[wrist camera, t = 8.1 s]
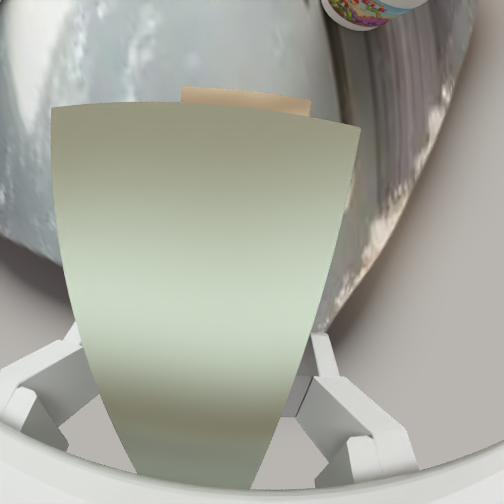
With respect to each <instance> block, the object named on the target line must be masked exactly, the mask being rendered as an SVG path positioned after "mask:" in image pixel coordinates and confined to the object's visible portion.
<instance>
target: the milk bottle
mask: <svg viewBox="0 0 504 504" xmlns="http://www.w3.org/2000/svg"><path fill="white" fill-rule="evenodd" d="M426 1H427V0H321V2H322V5H323V7H324V9H325V11H326V12H327V14H328V15H329V16H330V17H331V18H332V19H333V20H334V21H335V22H337V23H338V24H340V25H342V26H343V27H346V28H348V29H351V30H356V31H368V30H371V29H374V28H376V27H378V26H380V25H382V24H384V23H386V22H388V21H390V20H392V19H394V18H396V17H398V16H400V15H402V14H404V13H406V12H408V11H410V10H412V9H414V8H416V7H418V6H420V5H422V4H423V3H425V2H426Z"/></svg>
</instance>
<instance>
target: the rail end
mask: <svg viewBox="0 0 504 504" xmlns="http://www.w3.org/2000/svg"><path fill="white" fill-rule="evenodd" d="M360 131H361V128H360V127H356V126H351V125H347V124H343V123H338V122H333V121H329V120H324V119H319V118H313V117H308V116H302V115H297V114H291V113H284V112H278V111H271V110H263V109H255V108H247V107H237V106H227V105H215V104H200V103H180V102H116V103H96V104H83V105H71V106H62V107H53V108H52V110H51V168H52V185H53V198H54V208H55V217H56V225H57V233H58V239H59V246H60V252H61V258H62V263H63V269H64V274H65V279H66V283H67V287H68V292H69V297H70V301H71V305H72V309H73V313H74V317H75V320H76V324H77V328H78V331H79V334H80V338H81V341H82V344H83V348H84V351H85V354H86V357H87V360H88V363H89V366H90V369H91V372H92V374H93V377H94V380H95V382H96V385H97V388H98V390H99V393H100V395H101V398H102V400H103V403H104V405H105V408H106V410H107V412H108V415H109V417H110V419H111V421H112V424H113V426H114V428H115V430H116V432H117V434H118V437H119V439H120V441H121V443H122V445H123V447H124V449H125V451H126V453H127V454H128V457H129V459H130V461H131V462H132V464H133V466H134V468H135V470H136V472H137V473H138V474H139V475H143V476H148V477H153V478H158V479H163V480H168V481H174V482H180V483H186V484H194V485H201V486H210V487H221V488H234V489H250V488H251V486H252V483H253V481H254V479H255V476H256V474H257V472H258V470H259V467H260V465H261V463H262V461H263V458H264V456H265V454H266V451H267V449H268V446H269V444H270V442H271V439H272V437H273V434H274V432H275V429H276V427H277V424H278V422H279V419H280V417H281V414H282V411H283V409H284V406H285V403H286V401H287V398H288V395H289V393H290V390H291V387H292V384H293V382H294V379H295V376H296V373H297V370H298V368H299V365H300V362H301V359H302V356H303V353H304V350H305V347H306V344H307V341H308V338H309V335H310V332H311V328H312V325H313V322H314V319H315V316H316V312H317V309H318V306H319V302H320V299H321V296H322V292H323V289H324V285H325V282H326V278H327V275H328V271H329V268H330V264H331V260H332V257H333V253H334V249H335V245H336V241H337V237H338V233H339V229H340V225H341V221H342V217H343V213H344V209H345V204H346V200H347V196H348V191H349V187H350V182H351V177H352V173H353V168H354V163H355V158H356V153H357V148H358V142H359V137H360Z"/></svg>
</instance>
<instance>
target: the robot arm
mask: <svg viewBox="0 0 504 504" xmlns="http://www.w3.org/2000/svg"><path fill="white" fill-rule="evenodd" d="M1 1H2V0H0V2H1ZM98 394H99V390H98V388H97V385H96V382H95V380H94V377H93V374H92V372H91V369H90V366H89V363H88V360H87V357H86V354H85V351H84V348H83V344H82V341H81V338H80V334H79V331H78V328H77V324H76V321H75V322H74V324H73V325H72V327H71V328H70V330H69V331H68V333H67V335H66V336H65V338H64V339H63V341H62V340H56V341H54V342H53V343H51V344H49V345H47V346H45V347H43V348H41V349H39V350H37V351H35V352H33V353H31V354H29V355H27V356H25V357H23V358H21V359H20V360H18V361H16V362H14V363H12V364H10V365H8V366H6V367H4V368H2V369H0V504H504V440H503V441H500V442H498V443H496V444H494V445H491V446H489V447H487V448H484V449H482V450H479V451H477V452H474V453H472V454H469V455H466V456H464V457H461V458H458V459H456V460H453V461H450V462H446V463H444V464H440V465H437V466H434V467H431V468H427V469H423V470H420V471H419V469H418V466H417V463H416V460H415V456H414V453H413V450H412V447H411V444H410V441H409V438H408V435H407V432H406V429H405V428H403V427H402V426H401V425H400V424H399V423H398V422H397V421H395V420H394V419H393V418H392V417H391V416H389V415H388V414H387V413H386V412H385V411H384V410H382V409H381V408H380V407H379V406H378V405H377V404H375V403H374V402H373V401H372V400H371V399H370V398H369V397H368V396H366V395H365V394H364V393H363V392H362V391H361V390H359V389H358V388H357V387H356V386H355V385H354V384H353V383H352V382H350V381H349V380H348V379H347V378H346V377H340V375H339V371H338V368H337V364H336V361H335V357H334V353H333V350H332V347H331V343H330V340H329V336H328V335H327V334H326V333H310V335H309V338H308V341H307V344H306V347H305V350H304V353H303V356H302V359H301V362H300V365H299V368H298V370H297V373H296V376H295V379H294V382H293V384H292V387H291V390H290V393H289V395H288V398H287V401H286V403H285V406H284V409H283V411H282V414H281V417H296V420H297V421H298V423H299V424H300V425H301V427H302V428H303V429H304V431H305V432H306V433H307V435H308V436H309V437H310V438H311V440H312V441H313V442H314V444H315V445H316V446H317V448H318V449H319V450H320V451H321V453H322V454H323V455H324V456H325V458H326V459H327V460H328V462H329V464H328V465H327V466H326V467H325V469H323V471H322V472H321V473H320V474H319V475H318V476H317V477H316V478H315V488H310V489H289V490H255V489H234V488H221V487H210V486H201V485H194V484H186V483H180V482H174V481H168V480H163V479H158V478H153V477H148V476H143V475H139V474H135V473H131V472H127V471H123V470H119V469H116V468H112V467H109V466H105V465H102V464H99V463H96V462H92V461H89V460H86V459H83V458H81V457H78V456H75V455H72V454H70V453H67V452H66V451H67V448H68V445H69V444H68V442H67V440H66V438H65V437H64V435H63V434H62V433H61V431H60V430H59V429H58V427H59V426H60V425H61V424H62V423H64V422H65V421H66V420H67V419H69V418H70V417H71V416H72V415H74V414H75V413H76V412H77V411H78V410H80V409H81V408H82V407H83V406H85V405H86V404H87V403H88V402H90V401H91V400H92V399H93V398H94V397H96V396H97V395H98Z"/></svg>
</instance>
